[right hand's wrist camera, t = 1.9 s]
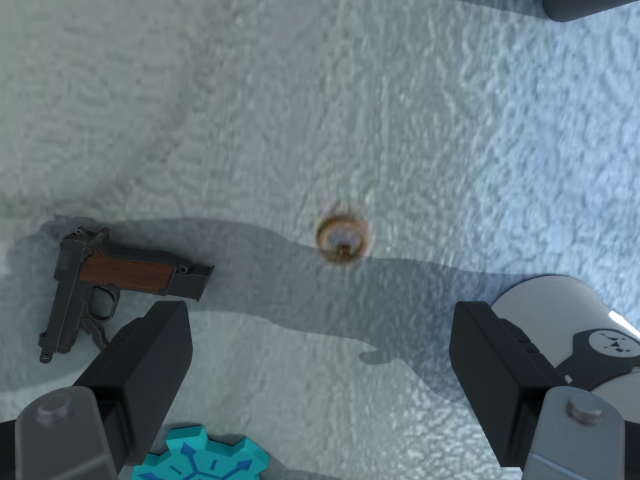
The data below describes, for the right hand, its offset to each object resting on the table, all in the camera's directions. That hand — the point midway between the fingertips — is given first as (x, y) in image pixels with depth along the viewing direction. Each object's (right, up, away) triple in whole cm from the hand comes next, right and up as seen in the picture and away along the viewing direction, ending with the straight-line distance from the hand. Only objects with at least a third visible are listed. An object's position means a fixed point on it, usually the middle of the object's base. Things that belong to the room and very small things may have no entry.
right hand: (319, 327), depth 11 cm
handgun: (-23, -5, +33) cm, 41 cm away
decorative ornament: (-16, -32, +43) cm, 56 cm away
